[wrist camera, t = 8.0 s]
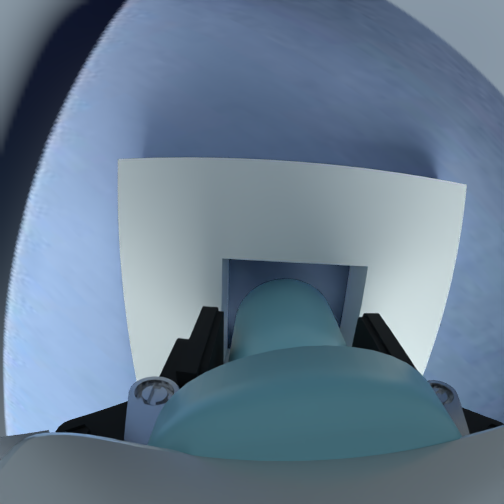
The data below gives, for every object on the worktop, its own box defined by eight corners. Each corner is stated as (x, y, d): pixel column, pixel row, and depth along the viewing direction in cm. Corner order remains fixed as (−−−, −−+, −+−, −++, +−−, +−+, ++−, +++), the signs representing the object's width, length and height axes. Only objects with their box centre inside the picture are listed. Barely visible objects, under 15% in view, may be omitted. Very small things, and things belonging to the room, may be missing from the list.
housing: (438, 180, 13) (562, 205, 5) (353, 478, 19) (369, 560, 11) (141, 159, 13) (21, 163, 6) (173, 471, 19) (150, 554, 12)
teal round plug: (376, 248, 12) (531, 391, 3) (347, 386, 14) (397, 552, 5) (200, 239, 12) (80, 404, 3) (204, 382, 14) (161, 558, 5)
